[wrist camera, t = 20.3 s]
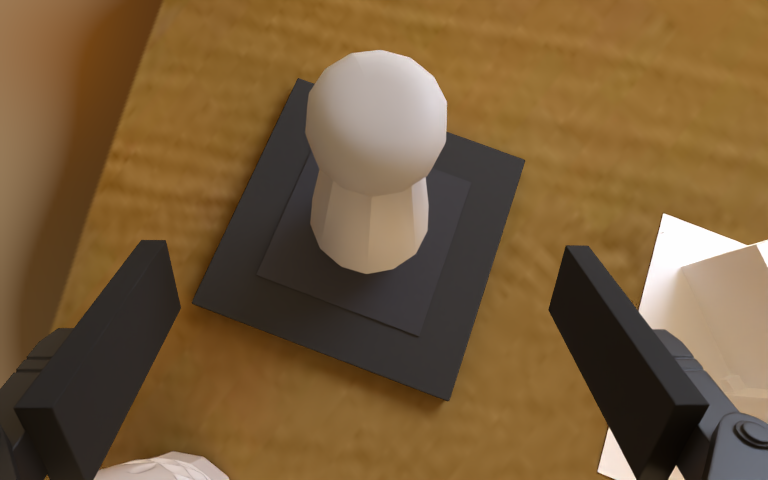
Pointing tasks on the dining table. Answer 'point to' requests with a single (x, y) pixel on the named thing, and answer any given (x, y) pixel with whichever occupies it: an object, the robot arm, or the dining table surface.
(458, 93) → the dining table surface
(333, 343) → the rubber pad
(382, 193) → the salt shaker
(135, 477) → the white cup
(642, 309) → the napkin holder
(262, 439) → the dining table surface
